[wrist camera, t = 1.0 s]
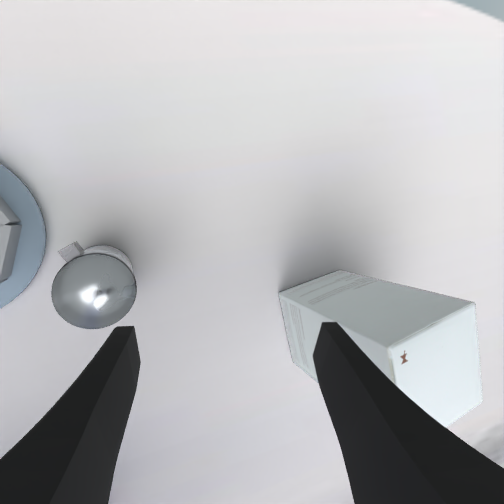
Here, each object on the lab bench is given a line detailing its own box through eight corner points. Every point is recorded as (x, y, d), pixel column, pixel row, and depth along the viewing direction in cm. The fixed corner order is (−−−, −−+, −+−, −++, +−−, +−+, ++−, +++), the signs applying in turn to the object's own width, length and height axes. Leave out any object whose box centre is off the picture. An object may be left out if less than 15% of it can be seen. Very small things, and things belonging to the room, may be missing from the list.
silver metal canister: (93, 312, 22) (83, 345, 16) (48, 257, 20) (21, 272, 15) (144, 279, 23) (151, 299, 17) (105, 225, 21) (99, 227, 16)
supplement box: (291, 364, 29) (403, 463, 17) (276, 290, 27) (388, 344, 16) (352, 336, 31) (486, 405, 20) (342, 267, 30) (480, 299, 18)
